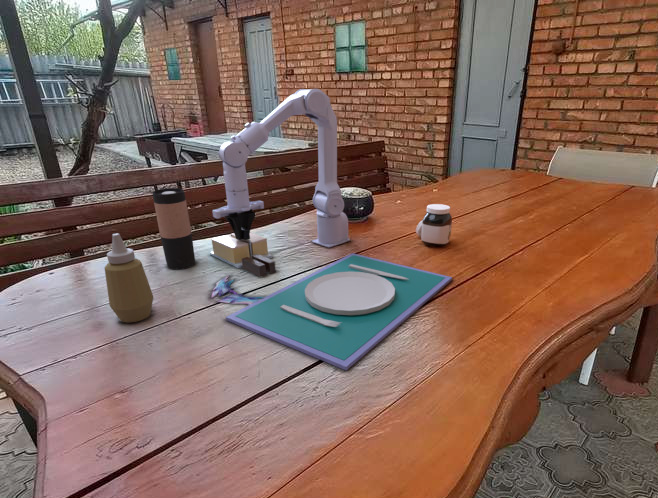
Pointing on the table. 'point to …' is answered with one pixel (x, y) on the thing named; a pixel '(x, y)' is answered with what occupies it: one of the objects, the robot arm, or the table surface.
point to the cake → (238, 248)
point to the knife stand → (258, 265)
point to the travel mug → (174, 227)
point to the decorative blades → (223, 289)
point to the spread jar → (435, 226)
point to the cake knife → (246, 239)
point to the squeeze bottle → (127, 283)
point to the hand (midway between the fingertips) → (242, 238)
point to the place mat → (341, 307)
